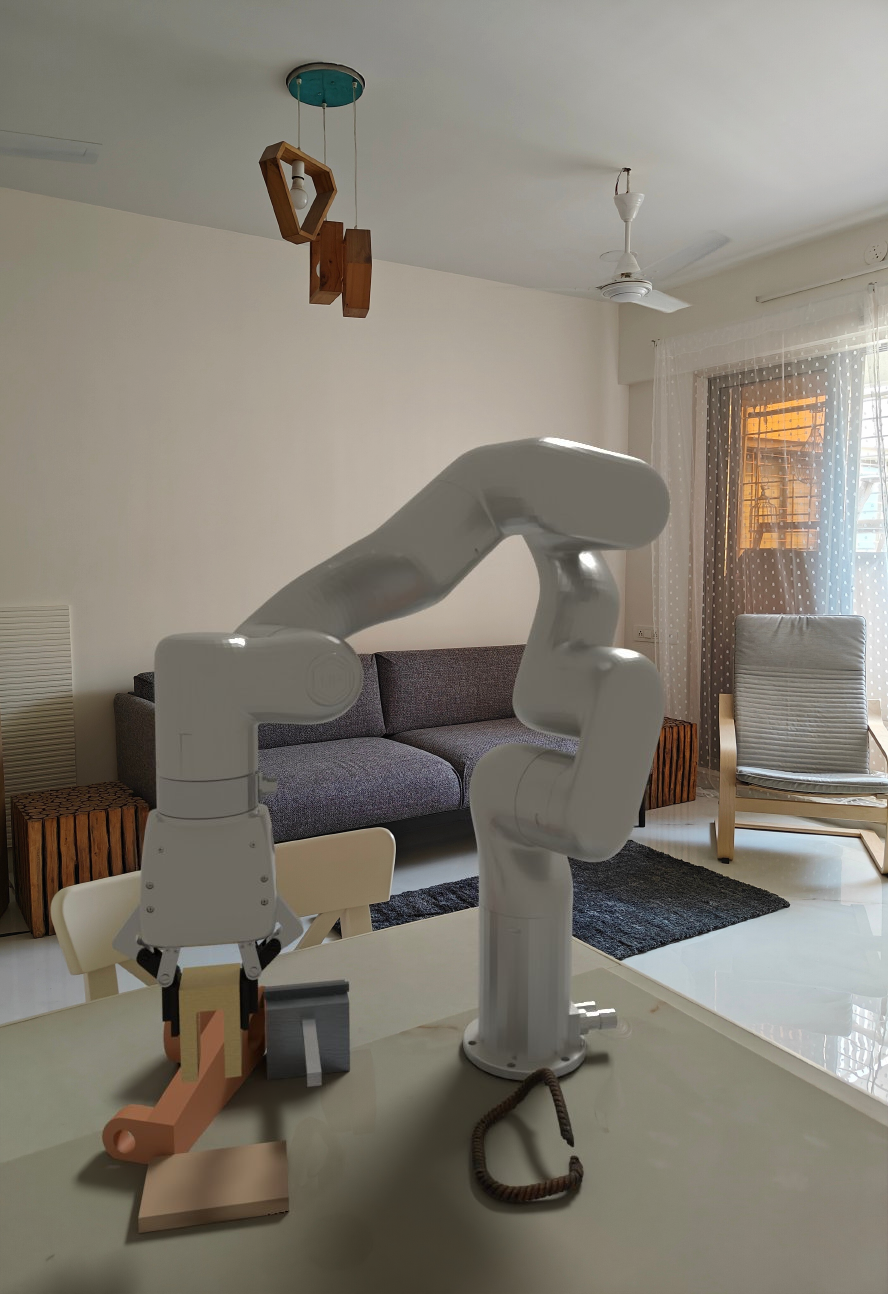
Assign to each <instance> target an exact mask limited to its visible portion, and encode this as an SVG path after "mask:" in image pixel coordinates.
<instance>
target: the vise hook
mask: <svg viewBox="0 0 888 1294" xmlns="http://www.w3.org/2000/svg"><path fill="white" fill-rule="evenodd" d="M348 992H350V981H349V980H348V981H346V980H345V979H334V980H323V981H315V982H304V983H303V982H301V983H293V984H292V983H291V984H281V985H271V986H266V989H264V1000H266V1044H267V1048H266V1080H267V1081H270V1080H278V1079H289V1078H297V1077H306V1084H307V1086H306V1087H317V1086H322V1075H324V1074H332V1073H333V1072H334V1073H341V1072H348V1071H349V1072H350V1071H351V1053H350V1052H351V1043H350V1041H351V1039H350V1037H351V1036H350V1033H351V1032H350V1026H351V1025H350V999H349V994H348ZM334 1073H333V1074H334Z"/></svg>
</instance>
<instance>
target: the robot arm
mask: <svg viewBox="0 0 888 1294" xmlns="http://www.w3.org/2000/svg"><path fill="white" fill-rule="evenodd" d="M670 512H671V499H670V493H669V490H668V487H667V484H666V482H665V479H663V476H662V475H661V474H660V473H659V472H658V470H657V469H655V468H654V467H653V466H652V465H651V464H649V463H647V462H646V461H644V460H642V459H640V458H636V457H634V456H630V455H626V454H623V453H622V454H621V453H618V452H614V451H613V452H612V451H609V450H605V449H601V448H598V447H595V446H591V445H587V444H583V443H579V442H575V441H570V440H566V439H561V438H555V437H550V436H549V437H548V436H547V437H545V436H537V437H536V436H535V437H530V438H522V439H517V440H512V441H511V440H510V441H504V442H499V443H498V442H497V443H492V444H486V445H485V444H484V445H481V446H478V447H475V448H472V449H470V450H468V451H466V452H464V453H462V454H461V455H459V456H458V457H457V458H456V459H455V460H453V461H452V462H451V463H450V464H448V466H447V465H446V467H445V468H444V469H443V470H442V471H441V472H440V473H439V474H437V475H436V476H435V477H434V478H433V479H432V480H431V481H429V482H428V483H427V484H426V485H425V486H424V487H423V488H422V489H421V490H419V491H418V492H417V493H416V494H415V495H414V496H413V497H411V499H409V500H408V501H407V502H406V503H405V504H404V505H402V507H400V508H399V509H398V510H397V511H396V512H395V513H394V514H393V515H391V516H390V518H389V517H388V519H387V520H386V521H384V523H382V524H380V526H379V527H378V528H376V529H375V530H374V531H373V532H370V533H369V534H367V535H366V536H364V537H361V538H360V539H359V540H357V541H355V542H353V543H351V544H349V545H347V546H346V547H345V548H343V549H342V550H340V551H339V552H337V553H335V554H334V555H332V556H331V557H328V558H327V559H325V560H323V561H322V562H320V563H319V564H317V565H315V566H313V567H312V568H310V569H308V570H306V571H305V572H303V573H302V574H300V575H299V576H297V577H296V578H294V579H293V580H291V581H290V582H288V583H286V585H284V586H283V587H282V588H280V589H279V590H278V591H277V592H276V593H275V594H273V595H272V596H271V597H269V599H267V600H266V601H265V602H264V603H263V604H262V605H261V606H259V607H258V608H257V609H256V610H255V611H254V612H252V614H250V615H249V616H248V617H247V618H246V619H244V621H243V622H242V623H241V624H240V625H238V626H237V628H236V629H235V630H234V631H233V632H222V631H221V632H220V631H218V632H217V631H216V632H215V631H213V632H212V631H211V632H209V631H208V632H207V631H206V632H205V631H204V632H203V631H201V632H200V631H198V632H183V633H182V632H180V633H176V634H170V635H168V636H165V637H163V638H162V639H161V640H160V641H158V644H157V645H156V648H155V651H154V660H153V661H154V662H153V667H154V668H153V671H154V725H155V726H154V729H155V730H154V731H155V768H156V769H155V770H156V771H155V773H156V774H155V776H156V777H155V778H156V779H155V781H156V783H155V784H156V786H155V787H156V789H155V790H156V808H153V809H151V810H150V811H149V812H148V815H147V819H146V824H145V829H144V837H143V838H144V839H143V844H142V845H143V846H142V855H141V865H140V866H141V867H140V882H139V883H140V884H139V901H138V903H137V904H136V905H135V906H134V908H133V910H131V912H130V914H129V915H128V916H127V918H126V919H125V920H124V922H123V923H122V925H121V926H120V928H118V930H117V932H116V933H115V935H114V936H113V939H112V941H111V942H112V943H111V946H112V948H113V949H114V950H115V951H117V952H119V953H120V954H122V955H124V956H126V957H127V958H128V959H131V960H134V961H136V963H137V964H138V965H139V966H140V967H141V968H142V969H143V970H145V971H146V972H147V973H148V974H150V976H151V977H153V978H154V979H155V980H156V984H157V985H158V986H159V987H160V988H161V1017H162V1019H161V1020H162V1023H165V1022H167V1021H171V1037H178V1036H179V1035H180V1014H179V987H180V982H181V976H182V969H181V967H180V966H179V965H178V960H179V955H180V953H181V948H193V947H195V948H197V947H207V946H209V947H210V946H218V945H221V946H222V945H231V944H233V945H234V944H237V946H238V950H239V954H240V958H241V960H242V962H241V963H242V964H241V967H240V981H239V987H240V1029H242V1031H245V1030H249V1016H250V1014H256V1013H258V985H259V978H260V977H261V976H262V972H263V971H264V970H266V968H267V967H268V966H269V965H270V964H271V963H272V961H274V960H275V958H277V957H278V955H279V954H280V953H281V951H282V950H284V949H285V948H287V947H289V946H290V945H291V944H292V943H294V942H295V941H296V940H298V939H299V938H300V937H302V935H303V934H304V932H305V931H304V923H303V921H302V920H301V918H300V917H299V916H298V914H297V913H296V912H295V911H294V909H293V908H292V907H291V906H290V905H289V903H288V902H287V901H286V900H285V898H284V897H283V895H282V894H281V893H280V892H279V891H278V885H277V867H276V854H275V853H276V851H275V848H276V847H275V842H274V841H275V840H274V833H273V831H274V830H273V825H272V819H271V816H270V815H271V814H270V811H269V807H268V805H266V804H263V803H260V802H259V801H263V797H268V795H278V777H277V776H274V777H273V776H271V777H270V776H269V777H268V775H263V772H259V730H258V729H259V725H261V724H289V725H290V724H291V725H292V724H293V725H318V724H323V723H329V722H331V721H333V720H335V719H338V718H339V717H341V716H343V715H344V714H346V712H347V711H349V710H350V709H351V708H352V707H353V706H354V705H355V703H356V702H357V700H358V698H359V696H360V695H361V693H362V689H363V684H364V668H363V664H362V661H361V659H360V657H359V654H357V651H356V650H355V648H353V647H352V645H350V643H348V641H346V640H347V639H349V638H350V637H352V636H353V635H356V634H358V633H360V632H362V631H365V630H366V629H369V628H371V627H374V626H377V625H381V624H384V623H387V622H390V621H395V620H398V619H403V618H406V617H409V616H412V615H414V614H417V613H420V612H422V611H425V610H427V609H429V608H431V607H434V606H436V605H437V604H440V603H441V602H442V601H443V600H444V599H446V598H447V597H448V596H449V595H450V593H452V592H453V591H454V590H455V588H456V587H458V586H459V584H460V583H462V581H463V580H465V578H466V577H467V576H468V575H469V574H470V573H471V572H472V571H473V570H474V569H475V568H476V567H478V565H480V563H481V562H482V561H483V560H485V558H486V557H488V555H490V554H491V553H492V552H493V551H494V550H495V549H496V547H498V546H499V545H500V544H501V543H502V542H503V541H504V540H506V539H507V538H510V537H512V536H522V538H523V540H524V542H525V544H526V545H527V547H528V549H529V552H530V555H531V556H532V558H533V561H534V564H535V567H536V570H537V574H538V575H537V576H538V580H539V582H538V583H539V596H538V601H537V605H536V609H535V613H534V617H533V621H532V625H531V627H530V631H529V634H528V637H527V640H526V645H525V648H524V651H523V653H522V657H521V660H520V665H519V668H518V671H517V674H516V677H515V683H514V685H513V691H512V700H511V701H512V709H513V712H514V714H515V717H516V718H517V719H518V720H519V722H521V723H522V724H523V725H524V726H525V727H527V728H529V729H531V730H533V731H536V732H539V733H543V734H545V735H551V736H553V737H555V736H556V737H559V738H563V739H569V740H574V741H578V745H577V749H576V753H573V752H568V751H564V750H561V749H556V748H552V747H546V746H542V745H538V744H533V743H527V742H507V743H503V744H502V743H501V744H499V745H497V746H495V747H492V748H491V749H489V750H488V751H487V752H485V753H483V755H482V756H481V757H480V758H479V760H478V761H477V763H476V765H475V766H474V768H473V771H472V773H471V776H470V781H469V790H468V792H469V793H468V794H469V795H468V797H469V808H470V813H471V819H472V824H473V829H474V833H475V834H474V835H475V839H476V849H477V850H476V851H477V861H478V948H477V949H478V951H477V952H478V958H477V959H478V973H477V974H478V975H477V976H478V978H477V979H478V980H477V981H478V986H477V987H478V991H477V993H478V994H477V995H478V996H477V997H478V999H477V1000H478V1001H477V1003H478V1004H477V1009H478V1010H477V1017H476V1018H475V1019H473V1020H472V1021H471V1022H470V1023H469V1024H468V1025H467V1026H466V1028H465V1029H464V1031H463V1036H462V1043H463V1044H462V1048H463V1051H464V1053H465V1055H466V1057H467V1058H468V1060H469V1061H470V1062H471V1063H472V1064H474V1065H475V1066H476V1067H478V1068H479V1069H481V1070H483V1071H484V1072H487V1073H489V1074H491V1075H494V1076H496V1077H500V1078H504V1079H508V1080H516V1081H522V1082H523V1081H524V1079H526V1078H527V1077H528V1076H529V1075H531V1073H533V1072H535V1071H537V1070H538V1069H541V1068H549V1069H550V1070H552V1071H553V1073H554V1074H555V1076H556V1078H559V1077H561V1076H565V1075H566V1074H569V1073H571V1072H572V1071H574V1070H576V1069H577V1068H578V1067H579V1066H580V1065H581V1064H582V1063H583V1061H584V1060H585V1058H586V1055H587V1039H586V1036H585V1035H588V1034H589V1031H593V1030H595V1031H596V1030H598V1031H600V1030H611V1029H612V1030H613V1029H616V1028H617V1026H618V1017H617V1013H616V1011H615V1009H614V1008H603V1009H597V1006H596V1003H595V1001H594V1000H591V1001H590V1000H589V1001H582V1002H576V1003H574V1001H573V1000H572V978H573V977H572V975H573V974H572V971H573V968H572V967H573V964H572V963H573V961H572V960H573V904H574V888H573V887H574V885H573V874H572V870H571V866H570V862H569V859H568V857H569V858H572V859H576V860H578V861H583V862H589V863H599V862H604V861H608V860H609V859H611V858H613V857H614V856H615V855H617V854H618V853H620V851H621V850H622V849H623V847H625V845H626V844H627V842H628V840H629V839H630V836H631V834H632V832H633V829H634V828H635V824H636V822H637V819H638V817H639V812H640V809H641V805H642V802H643V798H644V794H645V790H646V787H647V784H648V780H649V777H650V774H651V773H650V772H651V769H652V765H653V761H654V759H655V754H656V750H657V747H658V743H659V739H660V735H661V732H662V727H663V723H664V719H665V711H666V710H665V709H666V695H665V687H664V686H665V685H664V683H663V679H662V676H661V673H660V671H659V670H658V668H657V666H656V665H655V664H654V663H653V662H652V660H651V659H649V658H648V657H647V656H646V655H644V654H642V653H640V652H638V651H635V650H632V649H627V648H622V647H620V648H619V647H613V645H614V640H615V636H616V631H617V627H618V622H619V618H620V612H621V597H620V592H619V588H618V584H617V582H616V580H615V578H614V575H613V573H612V571H611V569H610V568H609V565H608V563H607V561H606V560H605V557H604V556H603V553H602V552H601V551H631V550H638V549H641V548H644V547H646V546H648V545H650V544H651V543H653V542H654V541H655V540H656V539H658V537H659V536H660V535H661V534H662V532H663V531H664V529H665V528H666V525H667V522H668V520H669V516H670ZM277 922H278V924H279V925H280V927H278V929H276V926H277V925H276V923H277ZM275 930H276V931H275ZM139 933H140V934H139ZM139 935H140V936H139ZM259 941H260V943H259ZM160 949H163V950H162V951H161V950H160Z"/></svg>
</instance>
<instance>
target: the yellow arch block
mask: <svg viewBox="0 0 888 1294" xmlns="http://www.w3.org/2000/svg"><path fill="white" fill-rule="evenodd" d="M240 968H241V963H240V962H234V963H232V962H231V963H222V964H211V965H203V966H202V965H201V966H192V967H191V966H190V967H183V968H182V970H181V973H182V976H181V982H180V987H179V1014H180V1050H181V1063H180V1067H181V1083H187V1082H196V1081H198V1076H199V1067H200V1058H201V1036H200V1012H202V1011H212V1010H222V1009H223V1010H224V1052H225V1078H230V1077H238V1076H241V1068H242V1029H240V987H239V981H240Z"/></svg>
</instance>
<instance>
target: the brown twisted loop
mask: <svg viewBox="0 0 888 1294" xmlns="http://www.w3.org/2000/svg"><path fill="white" fill-rule="evenodd" d="M541 1083H544V1085H545V1086H546V1087H548V1089H549V1093H550V1094H551V1098H552V1101H553V1104H554V1107H555V1113H556V1117H557V1122H558V1127H559V1133H560V1136H561V1138H562V1139H563V1140H564V1141H566V1144H567V1145H569V1146H570V1147H571V1148H574V1147H575V1137H574V1134H573V1129H572V1128H573V1127H572V1123H571V1120H570V1119H571V1118H570V1115H569V1112H568V1108H567V1105H566V1101H565V1097H564V1094H563V1091H562V1087H561V1085H560V1083H559V1080H558V1077H556V1076H555V1074H554V1073H553V1071H552V1070H550V1069H549V1068H541V1069H538V1070H537V1071H535V1072H533V1073H531V1075H529V1076H528V1077H527V1078H526V1079H524V1081H523V1080H522V1083H520V1085H519V1087H517V1088H516V1090H515V1091H513V1093H512V1094H511V1095H510V1096H509V1097H507V1098H506V1099H505V1100H502V1101H501V1102H500V1103H498V1104H496V1106H495V1107H492V1109H491V1110H488V1111H487V1113H486V1114H484V1115H483V1117H481V1118H480V1119H479V1121H477V1123H476V1125H475V1127H474V1129H473V1131H472V1136H471V1137H472V1138H471V1155H472V1168H473V1172H474V1175H475V1179H476V1181H477V1183H478V1185H479V1186H481V1188H482V1189H483V1190H484V1191H486V1192H487V1193H488V1194H489V1195H492V1197H493V1198H495V1199H499V1200H501V1201H506V1202H509V1203H512V1202H515V1203H520V1202H521V1203H525V1202H527V1201H528V1202H532V1201H534V1200H535V1201H536V1200H540V1199H545V1198H547V1197H551V1196H554V1195H558V1194H559V1193H564V1192H568V1191H571V1190H575V1189H576V1188H577V1187H578V1186H579V1185H580V1184H581V1183H582V1181H583V1178H584V1173H585V1172H584V1166H583V1164H582V1162H581V1161H580V1157H578V1156H577V1155H576V1154H575V1155H571V1156H570V1157H569V1166H570V1167H569V1168H570V1169H569V1171H570V1172H569V1173H568V1174H565V1175H561V1176H558V1177H554V1178H552V1179H547V1180H543V1181H542V1182H537V1183H534V1184H533V1183H531V1184H529V1185H509V1184H508V1185H507V1184H504V1183H501V1182H499V1181H498V1180H496V1179H494V1178H493V1177H492V1175H491V1174H490V1172H489V1171H488V1168H487V1161H486V1158H487V1157H486V1153H485V1151H486V1150H485V1139H486V1133H487V1132H488V1130H489V1129H490V1128H491V1127H492V1125H494V1124H495V1123H496V1122H497V1121H498V1120H499V1119H501V1118H502V1117H503V1116H504V1115H507V1114H508V1113H509V1112H510V1111H512V1110H514V1109H516V1108H517V1106H519V1105H520V1104H522V1102H523V1101H525V1099H526V1097H527V1096H528V1095H529V1094H530V1093H531V1091H532V1090H533V1089H534V1088H535V1087H536V1086H539V1085H540V1084H541Z"/></svg>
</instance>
